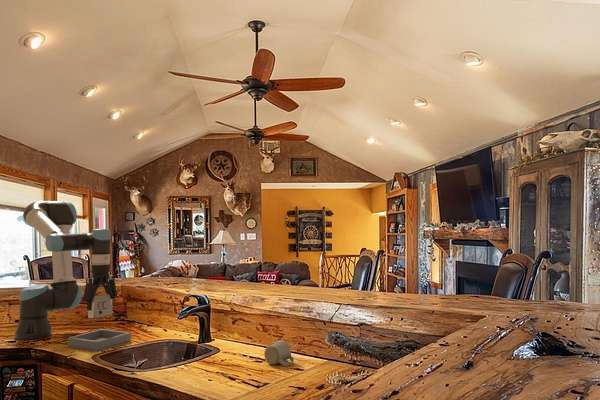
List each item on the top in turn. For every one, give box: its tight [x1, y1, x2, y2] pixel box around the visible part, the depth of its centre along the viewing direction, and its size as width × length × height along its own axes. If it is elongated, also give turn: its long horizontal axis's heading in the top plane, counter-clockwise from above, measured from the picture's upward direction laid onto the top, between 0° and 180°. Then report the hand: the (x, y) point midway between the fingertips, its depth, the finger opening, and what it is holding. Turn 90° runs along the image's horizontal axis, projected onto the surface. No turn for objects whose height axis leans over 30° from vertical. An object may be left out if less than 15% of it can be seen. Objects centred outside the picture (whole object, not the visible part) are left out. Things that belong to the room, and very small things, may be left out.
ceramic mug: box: [263, 339, 295, 367], centre depth 177 cm, size 11×8×8 cm
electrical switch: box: [93, 293, 114, 319], centre depth 206 cm, size 9×5×9 cm, turn 152°
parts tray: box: [67, 328, 132, 353], centre depth 205 cm, size 18×18×4 cm
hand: (100, 315), depth 206 cm, fingers closed on electrical switch, 9 cm apart
